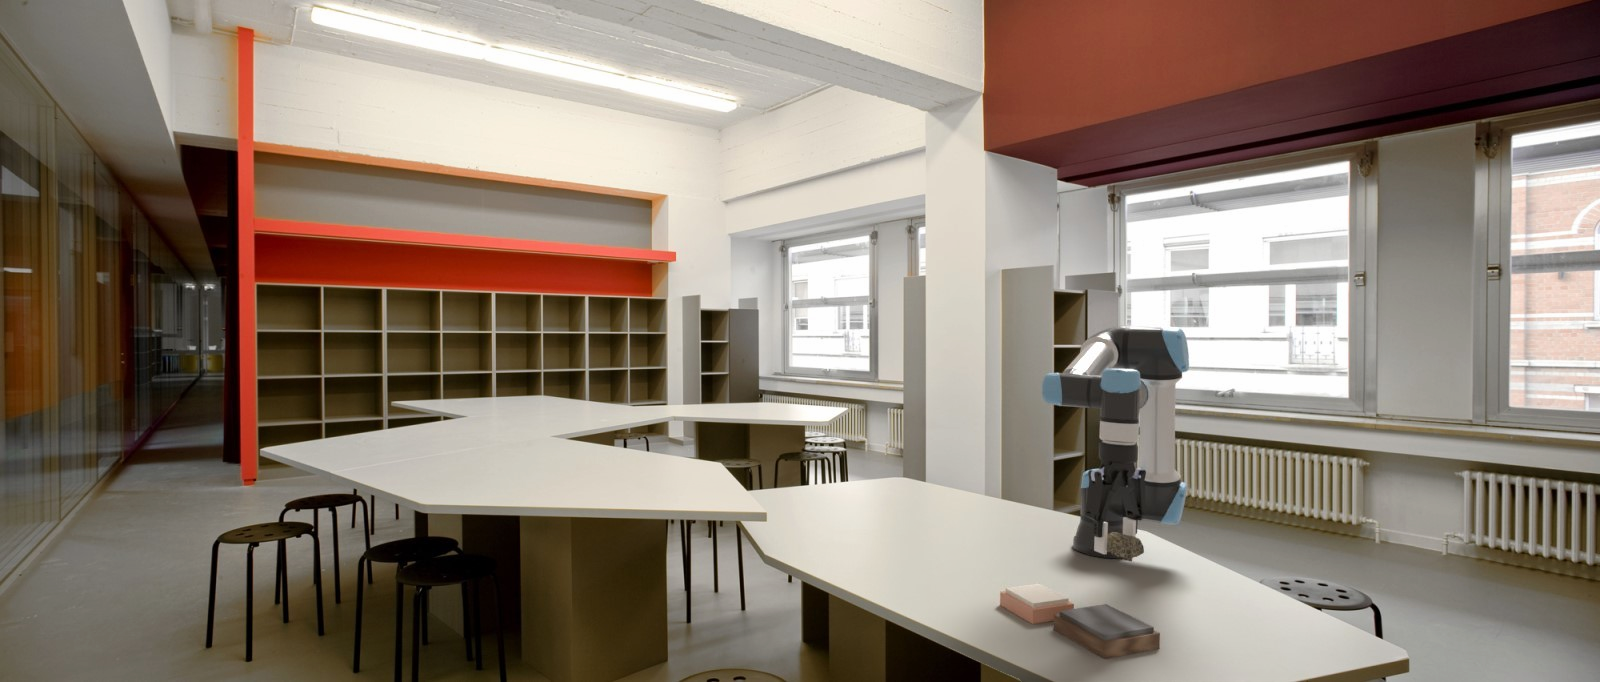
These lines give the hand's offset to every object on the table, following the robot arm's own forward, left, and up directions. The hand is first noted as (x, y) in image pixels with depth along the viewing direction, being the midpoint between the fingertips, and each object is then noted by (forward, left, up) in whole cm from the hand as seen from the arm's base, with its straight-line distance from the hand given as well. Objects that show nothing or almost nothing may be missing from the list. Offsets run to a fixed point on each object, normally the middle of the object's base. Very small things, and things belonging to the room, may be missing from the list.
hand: (1114, 550), depth 150 cm
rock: (0, +2, 0) cm, 2 cm away
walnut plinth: (+6, +4, -16) cm, 18 cm away
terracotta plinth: (+10, -12, -16) cm, 23 cm away
